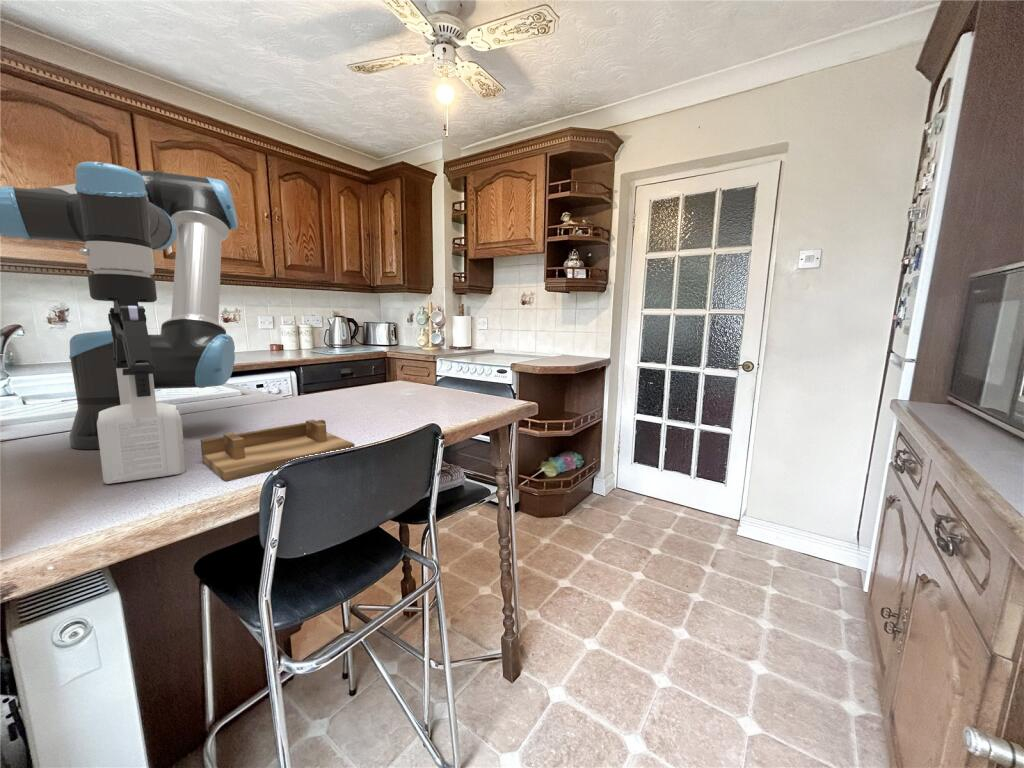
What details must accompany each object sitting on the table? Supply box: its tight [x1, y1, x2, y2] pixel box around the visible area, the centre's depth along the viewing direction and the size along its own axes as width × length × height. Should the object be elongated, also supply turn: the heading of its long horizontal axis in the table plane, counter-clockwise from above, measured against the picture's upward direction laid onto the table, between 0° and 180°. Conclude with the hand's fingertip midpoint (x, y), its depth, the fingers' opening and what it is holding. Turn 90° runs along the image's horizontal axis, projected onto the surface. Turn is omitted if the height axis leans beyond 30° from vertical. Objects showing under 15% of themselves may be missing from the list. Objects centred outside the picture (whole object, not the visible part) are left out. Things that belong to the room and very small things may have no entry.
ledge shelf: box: [200, 419, 355, 482], centre depth 79 cm, size 14×22×5 cm, turn 138°
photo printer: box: [97, 401, 187, 485], centre depth 67 cm, size 10×4×12 cm, turn 123°
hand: (138, 411), depth 66 cm, fingers open, 13 cm apart
